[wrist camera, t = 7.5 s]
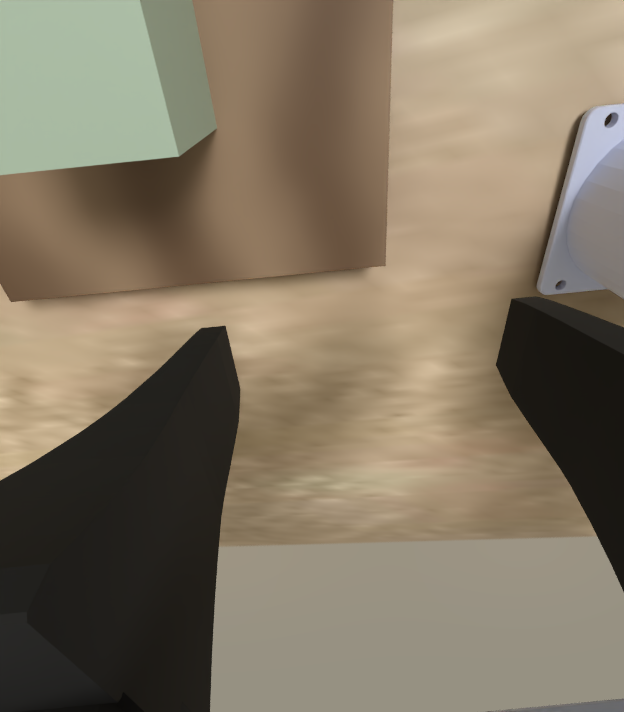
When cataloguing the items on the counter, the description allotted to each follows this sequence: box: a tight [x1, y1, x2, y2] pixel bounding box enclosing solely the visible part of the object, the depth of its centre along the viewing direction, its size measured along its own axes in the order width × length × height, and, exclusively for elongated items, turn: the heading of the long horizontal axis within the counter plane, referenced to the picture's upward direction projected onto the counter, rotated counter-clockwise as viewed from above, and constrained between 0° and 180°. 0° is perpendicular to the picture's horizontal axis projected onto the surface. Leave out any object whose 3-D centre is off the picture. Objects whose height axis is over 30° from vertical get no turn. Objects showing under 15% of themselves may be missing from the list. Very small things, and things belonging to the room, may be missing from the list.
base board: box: [0, 0, 393, 302], centre depth 13 cm, size 16×16×2 cm
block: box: [0, 0, 217, 175], centre depth 10 cm, size 4×4×6 cm
